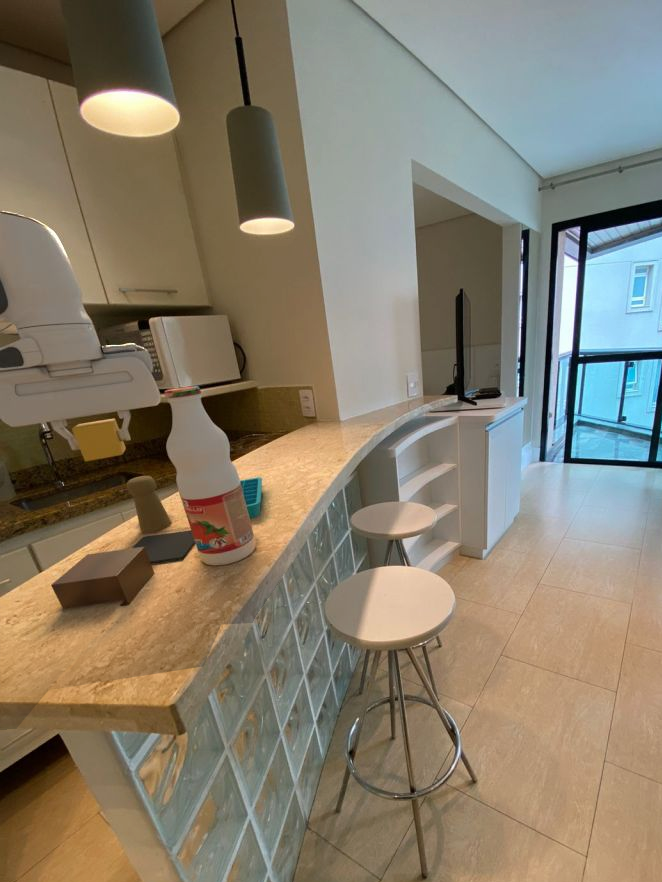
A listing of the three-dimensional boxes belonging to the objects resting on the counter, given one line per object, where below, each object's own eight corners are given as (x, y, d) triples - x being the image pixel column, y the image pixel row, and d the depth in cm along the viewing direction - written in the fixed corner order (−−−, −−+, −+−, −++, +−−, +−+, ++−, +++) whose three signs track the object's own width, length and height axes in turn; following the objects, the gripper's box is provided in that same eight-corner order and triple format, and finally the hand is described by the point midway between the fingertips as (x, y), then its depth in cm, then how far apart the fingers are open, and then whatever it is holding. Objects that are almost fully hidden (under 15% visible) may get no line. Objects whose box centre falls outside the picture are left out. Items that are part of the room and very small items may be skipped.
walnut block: (65, 614, 59) (50, 585, 57) (99, 580, 67) (87, 554, 65) (128, 605, 59) (116, 575, 57) (154, 572, 68) (144, 546, 66)
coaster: (113, 569, 70) (112, 567, 70) (143, 538, 82) (143, 536, 81) (183, 559, 71) (182, 557, 71) (204, 530, 82) (203, 528, 82)
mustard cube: (85, 461, 61) (71, 428, 59) (91, 455, 65) (78, 424, 63) (122, 454, 63) (110, 422, 61) (126, 448, 67) (114, 418, 65)
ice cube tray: (264, 487, 104) (261, 476, 102) (263, 517, 85) (260, 503, 84) (216, 496, 101) (213, 485, 100) (205, 528, 83) (201, 514, 82)
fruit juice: (266, 550, 71) (224, 383, 60) (212, 573, 65) (156, 394, 54) (243, 535, 78) (202, 383, 67) (193, 555, 72) (139, 392, 61)
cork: (159, 532, 84) (141, 481, 79) (134, 533, 85) (114, 483, 81) (177, 519, 89) (161, 472, 85) (153, 520, 90) (136, 473, 86)
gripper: (147, 342, 64) (174, 429, 70) (-14, 358, 57) (30, 454, 63) (144, 340, 59) (174, 435, 65) (-34, 358, 52) (16, 462, 57)
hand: (102, 444), depth 64 cm, fingers closed on mustard cube, 5 cm apart
